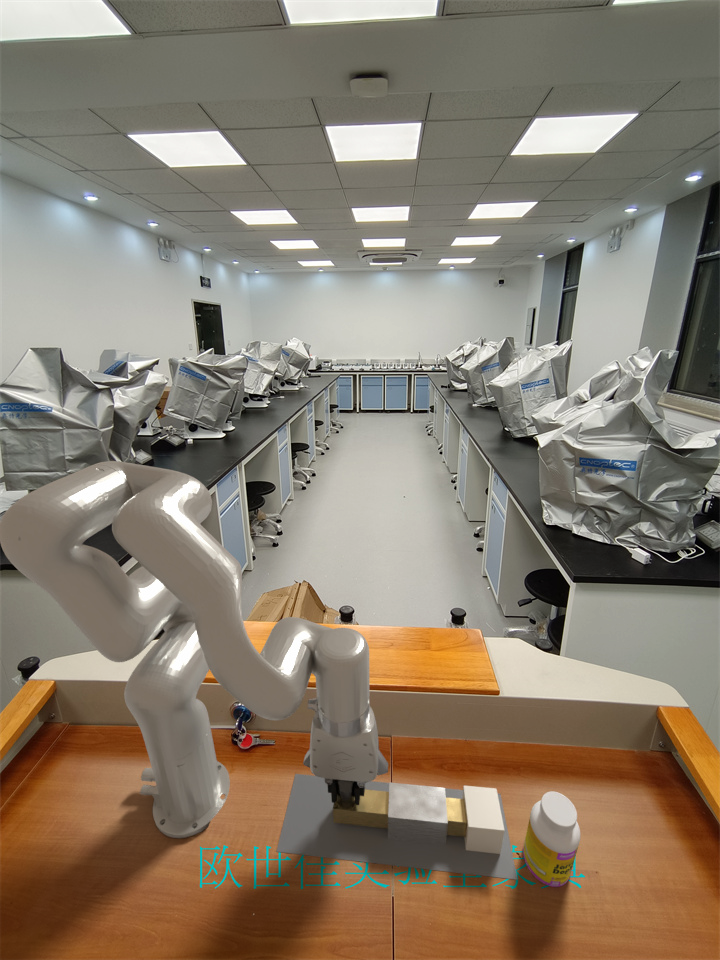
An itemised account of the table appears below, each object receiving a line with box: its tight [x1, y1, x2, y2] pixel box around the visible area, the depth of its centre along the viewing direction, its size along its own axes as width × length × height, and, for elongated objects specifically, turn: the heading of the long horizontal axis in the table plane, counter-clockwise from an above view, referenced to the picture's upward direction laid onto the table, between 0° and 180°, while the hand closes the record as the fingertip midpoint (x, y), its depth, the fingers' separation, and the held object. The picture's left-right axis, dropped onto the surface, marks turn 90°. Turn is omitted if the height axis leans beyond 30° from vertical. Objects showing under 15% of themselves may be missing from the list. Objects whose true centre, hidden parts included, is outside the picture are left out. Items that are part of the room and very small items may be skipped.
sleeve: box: [388, 782, 448, 845], centre depth 68 cm, size 9×5×5 cm, turn 84°
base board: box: [276, 773, 518, 881], centre depth 69 cm, size 36×12×1 cm, turn 84°
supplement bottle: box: [522, 791, 581, 888], centre depth 62 cm, size 7×7×13 cm
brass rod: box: [333, 780, 467, 837], centre depth 67 cm, size 22×3×9 cm, turn 84°
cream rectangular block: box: [462, 785, 505, 854], centre depth 67 cm, size 5×6×6 cm
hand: (346, 793), depth 68 cm, fingers closed on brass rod, 3 cm apart
